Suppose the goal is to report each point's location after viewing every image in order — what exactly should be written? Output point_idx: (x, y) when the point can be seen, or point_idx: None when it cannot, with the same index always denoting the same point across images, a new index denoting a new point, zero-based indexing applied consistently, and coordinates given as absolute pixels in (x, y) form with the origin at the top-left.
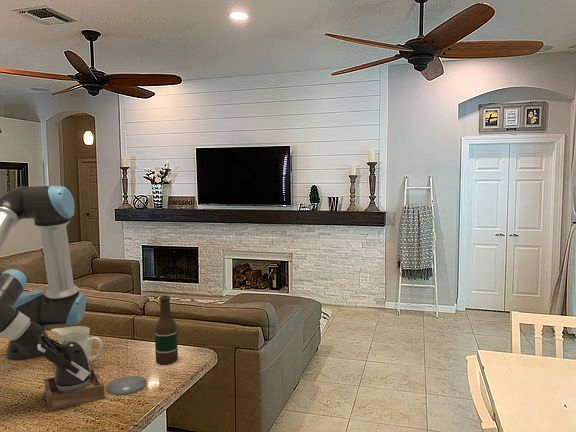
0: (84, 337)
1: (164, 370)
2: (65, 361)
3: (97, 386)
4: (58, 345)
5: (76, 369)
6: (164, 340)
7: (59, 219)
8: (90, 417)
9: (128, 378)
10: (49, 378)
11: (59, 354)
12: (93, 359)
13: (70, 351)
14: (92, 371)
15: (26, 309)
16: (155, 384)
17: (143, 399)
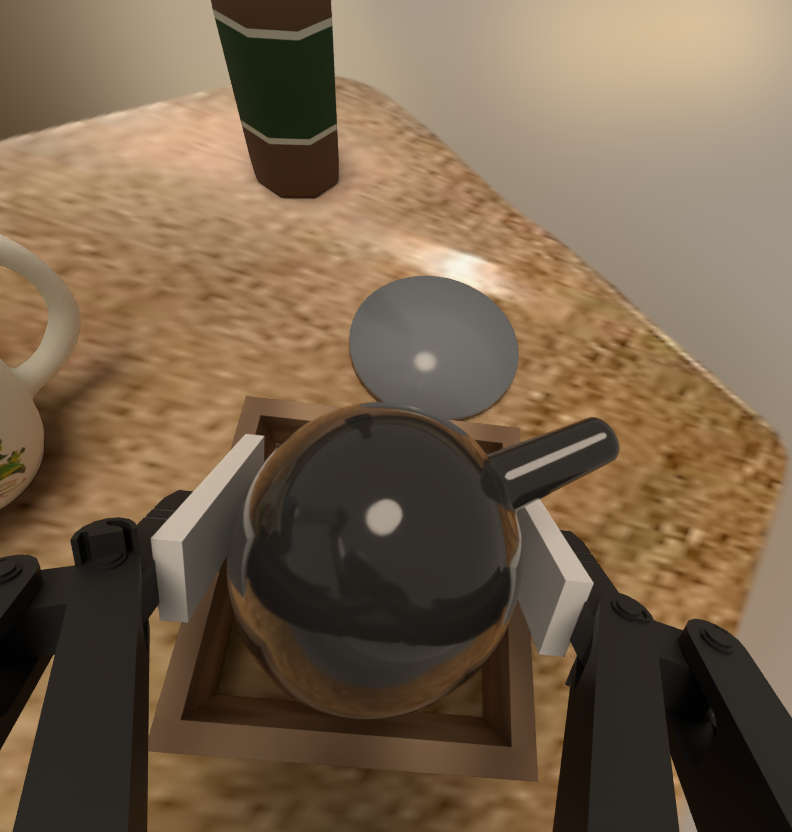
0: None
1: (378, 208)
2: (768, 698)
3: None
4: (110, 693)
5: (587, 556)
6: (324, 61)
7: None
8: (660, 556)
9: (384, 318)
10: (169, 704)
11: (669, 788)
12: (60, 364)
13: (519, 568)
14: (262, 420)
15: None
16: (482, 271)
17: (588, 342)
